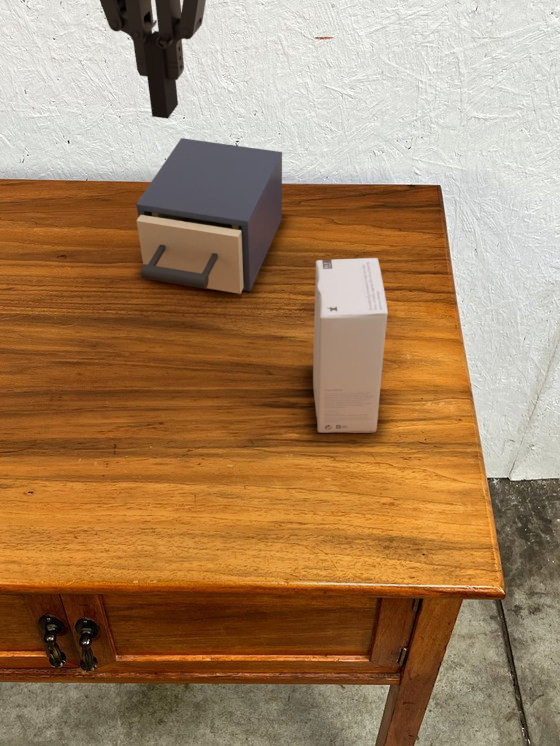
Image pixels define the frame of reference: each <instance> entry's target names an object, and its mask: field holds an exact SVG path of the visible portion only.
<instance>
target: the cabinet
mask: <svg viewBox="0 0 560 746" xmlns="http://www.w3.org/2000/svg"><path fill="white" fill-rule="evenodd" d="M136 212H137V219H138V218H139V216H140V215H145V216H152V212H153V213H160V214H166V215H172V216H179V217H185V218H192V219H198V220H205V221H211V222H217V223H224V224H230V225H237V226H241V233H242V260H243V290H242V291H245V292H251V290H252V288H253V286H254V283H255V281H256V279H257V277H258V275H259V272H260V269H261V267H262V266H263V264H264V261H265V259H266V256H267V254H268V252H269V250H270V247H271V245H272V242H273V241H274V238H275V235H276V233H277V231H278V229H279V226H280V225H281V223H282V219H283V217H282V216H283V215H282V214H283V152H282V151H278V150H271V149H263V148H256V147H249V146H248V147H247V146H243V145H242V146H241V145H235V144H228V143H220V142H212V141H205V140H198V139H191V138H183V137H181V138H180V139H179V141H178V142H177V143H176V145H175V147H174V148H173V149H172V151H171V152H170V154H169V155H168V157H167V158H166V159H165V161H164V163H163V164H162V166H161V167H160V169H159V170H158V171H157V173H156V174H155V176H154V177H153V179H152V180H151V182H150V183H149V184H148V186H147V188H146V189H145V191H144V192H143V194H142V195H141V196H140V197H139V199H138V201H137V202H136Z"/></svg>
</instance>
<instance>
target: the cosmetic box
mask: <svg viewBox="0 0 560 746" xmlns="http://www.w3.org/2000/svg"><path fill="white" fill-rule="evenodd" d="M379 261H380V260H379V259H378V258H377V257H363V258H361V257H360V258H358V257H357V258H337V259H335V258H334V259H317V260H316V261H315V281H314V283H315V286H314V316H313V317H314V319H313V321H314V322H313V353H312V354H313V357H312V358H313V359H312V360H313V362H312V385H313V388H312V389H313V398H314V406H315V416H316V421H317V425H316V426H317V432H318V433H325V434H326V433H327V434H328V433H353V434H358V433H361V434H362V433H364V434H365V433H376V432H377V429H378V419H379V407H380V398H381V397H380V395H381V385H382V375H383V366H384V365H383V364H384V353H385V342H386V341H385V340H386V331H387V322H388V315H389V309H388V305H387V299H386V297H387V296H386V291H385V285H384V281H383V277H382V271H381V266H380V262H379Z"/></svg>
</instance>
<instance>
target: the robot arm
mask: <svg viewBox="0 0 560 746" xmlns="http://www.w3.org/2000/svg"><path fill="white" fill-rule="evenodd" d="M99 2H100V5H101V8H102V11H103V13H104V16H105V19H106V21H107V24H108V26H109V28H110V29H111V30H112V31H114V32H120V31H121V32H123V33H125V34H127V35H128V36H129V37H130V38H131V39H132V43H133V51H134V56H135V57H134V58H135V63H136V64H135V66H136V71H137V73H138V75H139V76H140V77H147V85H148V94H149V100H150V102H149V103H150V109H151V117H153V118H160V119H167V120H169V118H170V117H171V116H172V114H173V112H174V111H175V110H176V108H177V107H178V105H179V99H178V90H177V89H178V88H177V80H179V78H180V77H181V76H182V74H183V73H184V70H185V62H184V50H183V40H190V39H192V38H193V36H194V35H195V34H196V33H197V32H198V30H199V29H200V28H201V26H202V24H203V22H204V21H203V20H204V15H205V8H206V2H207V0H182V5H181V0H154V3H155V12H156V20H154V15H153V4H152V0H99ZM155 26H157V29H158V30H154V31H153V28H155Z"/></svg>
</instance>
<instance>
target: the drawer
mask: <svg viewBox="0 0 560 746" xmlns="http://www.w3.org/2000/svg"><path fill="white" fill-rule="evenodd" d="M136 228H137V233H138V241H139V246H140V253H141V260H142V264H143V265H141V269H140V277H141V279H145V280H151V281H155V282H156V281H158V282H162V283H168V284H175V285H180V286H185V287H192V288H198V289H204V290H206V289H209V290H214V291H215V290H216V291H221V292H227V293H234V294H239V295H241V294H242V291H244V290H243V260H242V233H241V226H237V225H230V224H224V223H217V222H211V221H205V220H198V219H192V218H185V217H179V216H172V215H166V214H160V213H153V212H152V216H145V215H140V216H139V218H138V217H137V219H136Z"/></svg>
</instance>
